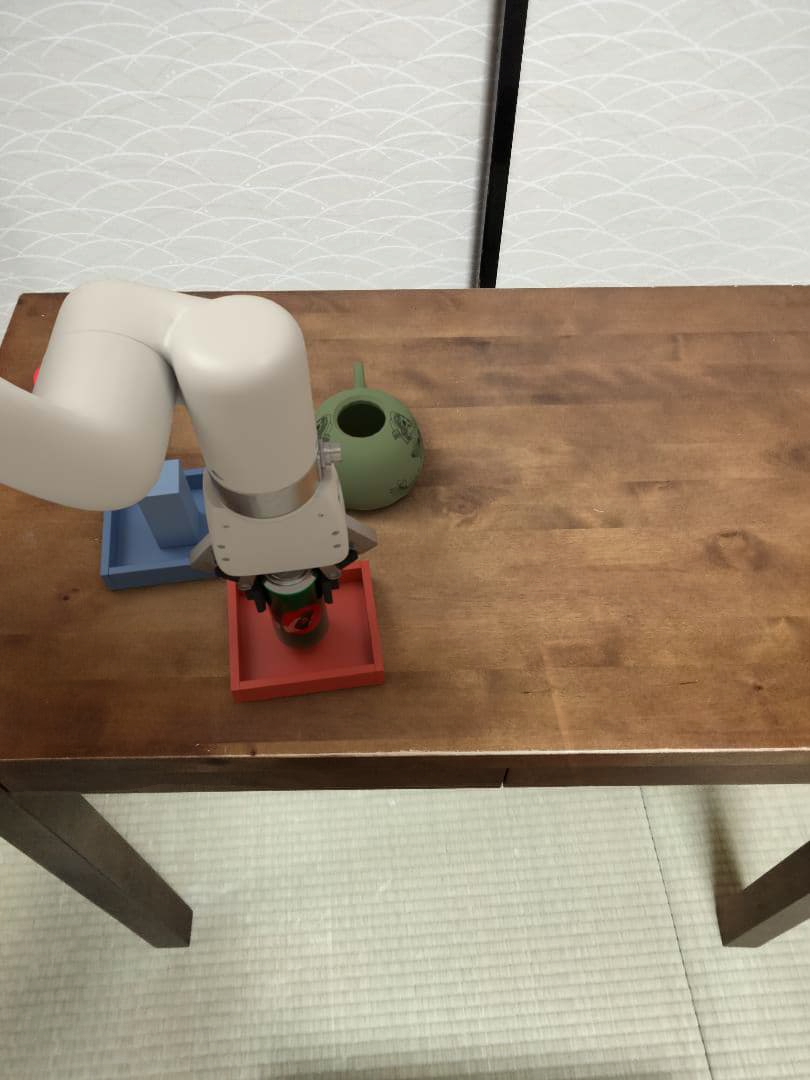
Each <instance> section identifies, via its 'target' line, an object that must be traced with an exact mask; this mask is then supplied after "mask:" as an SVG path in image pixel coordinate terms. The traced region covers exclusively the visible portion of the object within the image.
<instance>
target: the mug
mask: <svg viewBox="0 0 810 1080" xmlns="http://www.w3.org/2000/svg"><path fill="white" fill-rule="evenodd" d="M314 414H315V422H316V428H317V436H318V440H319V439H322V440H323V443H324V442H329V444H333V443H340V448H341V456H342V462H338V463H333V464H334V466H335V469H336V472H337V474H338V477H339V481H340V485H341V490H342V494H343V500H344V505H345V509H351V510H360V511H370V510H374V509H379V508H384V507H388V506H391V505H393V504H394V503H395V502H397V501H398V500H400V499H402V498H403V497H405V496H406V495H408V494H409V493H410V491H411V490H412V488H413V487H414V485H415V484H416V482H417V481H418V480H419V478H420V475H421V471H422V469H423V464H424V456H425V450H426V447H425V444H424V440H423V436H422V433H421V431H420V428H419V425H418V423H417V420H416V418H415V416H414V415H413V413H412V412H411V410H409V409H408V408H407V407H406V406H405V405H404V403H402V402H401V400H400V399H398V398H397V397H396V396H395V395H392V394H390V393H388V392H386V391H383V390H381V389H378V388H368V387H367V384H366V377H365V367H364V363H363V362H360V361H357V362H355V363H354V365H353V388H351V389H350V388H349V389H346V390H342V391H339V392H338V393H336V394H334V395H332V396H330V397H329V398H327V399H325V400H324V401H323V403H322V404H321V405H320V406H319V407H318V409H317V410H316V411H314Z"/></svg>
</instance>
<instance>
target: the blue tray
mask: <svg viewBox="0 0 810 1080" xmlns="http://www.w3.org/2000/svg"><path fill="white" fill-rule="evenodd" d="M204 469H205V467H197V468H190V469H189V468H188V469H183V471H184V474H185V477H186V479H187V482H188V485H189V487H190V490H191V493H192V495H193V498H194V501H195V503H196V506H197V508H198V511H199V542H200V541H201V540H202V539H203V538H204V537H205V536H206V535H207V534H208V533H209V528H208V523H207V517H206V510H205V503H204V494H203V472H204ZM196 545H197V544H196ZM196 545H187V546H179V547H171V548H162V549H160V548H159V546H158V544H157V542H156V540H155V538H154V536H153V534H152V532H151V530H150V528H149V526H148V523H147V521H146V519H145V517H144V515H143V513H142V511H141V509H140V507H139V505H138V503H136V504H134V505H132V506H129V507H126V508H123V509H119V510H112V511H103V519H102V538H101V552H100V567H99V568H100V569H99V576H100V579H102V581H103V583H104V584H105V586H106V587H107V589H108V591H116V590H117V591H118V590H124V589H125V590H126V589H132V588H133V589H134V588H139V587H140V588H141V587H149V586H157V585H165V584H172V583H173V584H174V583H182V582H188V581H189V582H190V581H198V580H205V579H213V578H218V577H217V576H216V575H215V572H211V573H209V572H205V571H201V570H197V569H193V568H191V567H190V551H191V550H192V549H193V548H194V547H195V546H196Z"/></svg>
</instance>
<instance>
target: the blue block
mask: <svg viewBox="0 0 810 1080" xmlns="http://www.w3.org/2000/svg"><path fill="white" fill-rule="evenodd" d="M183 470H184V469H183V466H182V463H181V461H180V459H179V458H174V459H165V461H164V465H163V468H162V471H161V474H160V476H159V479H158V481H157V483H156V484H155V486H154V487H153V489H152V490H151V491H150V492H149V493H148V495H147V496H146V497H145V498H143V499H142V500H140V501H139V502H137V503H138V505H139V507H140V509H141V511H142V513H143V515H144V517H145V519H146V521H147V523H148V526H149V528H150V530H151V532H152V534H153V536H154V538H155V540H156V542H157V544H158V546H159V548H160V549H162V548H171V547H179V546H187V545H196V544H198V543H199V511H198V508H197V506H196V503H195V501H194V498H193V495H192V493H191V490H190V487H189V485H188V482H187V479H186V477H185V474H184V471H183Z"/></svg>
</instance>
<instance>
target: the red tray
mask: <svg viewBox="0 0 810 1080" xmlns="http://www.w3.org/2000/svg"><path fill="white" fill-rule="evenodd" d="M338 580H339V588H340V589H336V590H332V598H333V604H327V603H326V607H327V613H328V619H329V627H328V631H327V633H326V635H325V636H324V638H323V639H322V640H321V641H320V642H319V643H318V644H316V645H314V646H312V647H310V648H306V649H294V648H290V647H288V646H286V645H284V644H283V643H282V642H281V641H280V640H279V639H278V637H277V636H276V633H275V630H274V627H273V623H272V620H271V617H270V613H269V610H268V607H267V603H266V610H265V611H264V612H262V613H258V611H257V608H256V605H255V602H254V600H247V597H246V594H245V591H244V590H240V589H238V584H237V583H236V582H233V581H230V580H227V579H226V589H227V591H226V592H227V618H228V619H227V620H228V621H227V622H228V643H229V644H228V648H229V677H230V681H229V682H230V692H231V694H232V696H233V698H234V700H235V703H236V704H240V703H248V702H256V701H262V700H270V699H277V698H284V697H291V696H300V695H307V694H315V693H321V692H329V691H336V690H343V689H350V688H351V689H352V688H359V687H365V686H372V685H373V686H374V685H379V684H385V683H386V682H385V680H386V679H385V666H384V659H383V652H382V646H381V645H382V644H381V639H380V638H381V637H380V630H379V624H378V617H377V610H376V603H375V597H374V588H373V582H372V575H371V567H370V560H369V559H365V560H356V561H354V562H353V563H351V564H350V565H348V566H347V567H345V568H344V569H342V570H341V576H340V577H339V578H338Z"/></svg>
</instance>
